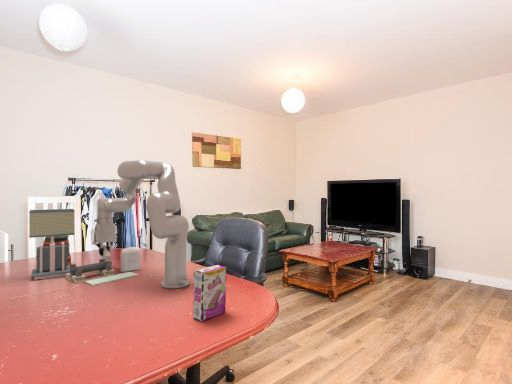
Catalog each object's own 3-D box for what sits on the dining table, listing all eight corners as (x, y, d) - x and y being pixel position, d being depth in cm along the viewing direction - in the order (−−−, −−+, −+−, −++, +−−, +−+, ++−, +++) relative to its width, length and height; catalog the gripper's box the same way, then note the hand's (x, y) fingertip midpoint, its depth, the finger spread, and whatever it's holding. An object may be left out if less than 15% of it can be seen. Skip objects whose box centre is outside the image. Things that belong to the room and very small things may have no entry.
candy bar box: (202, 322, 101) (202, 272, 101) (192, 318, 105) (192, 270, 105) (226, 312, 110) (226, 266, 110) (216, 309, 113) (217, 264, 113)
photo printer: (138, 268, 171) (138, 245, 171) (141, 269, 168) (141, 246, 168) (119, 271, 164) (119, 247, 164) (122, 272, 161) (122, 249, 161)
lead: (106, 269, 161) (105, 262, 162) (109, 267, 159) (108, 260, 160) (71, 276, 148) (69, 268, 149) (73, 274, 146) (72, 266, 147)
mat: (137, 275, 156) (137, 274, 156) (92, 285, 139) (92, 284, 139) (129, 272, 161) (129, 271, 161) (84, 282, 144) (84, 281, 144)
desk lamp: (72, 269, 167) (72, 208, 167) (74, 275, 155) (74, 210, 155) (30, 274, 157) (30, 209, 157) (29, 281, 145) (29, 211, 145)
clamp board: (114, 275, 157) (115, 261, 157) (76, 283, 143) (76, 268, 143) (103, 271, 164) (103, 257, 164) (66, 278, 150) (66, 264, 150)
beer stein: (39, 262, 182) (39, 228, 182) (68, 259, 191) (68, 226, 191) (41, 269, 167) (41, 232, 167) (72, 265, 176) (72, 230, 176)
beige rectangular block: (109, 260, 167) (111, 255, 166) (104, 261, 165) (106, 256, 164) (102, 250, 172) (104, 244, 170) (98, 250, 170) (100, 245, 168)
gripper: (92, 222, 159) (92, 258, 159) (122, 220, 171) (122, 253, 172) (86, 221, 164) (85, 256, 164) (115, 219, 176) (115, 251, 176)
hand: (104, 254), depth 168 cm, fingers closed on beige rectangular block, 2 cm apart
